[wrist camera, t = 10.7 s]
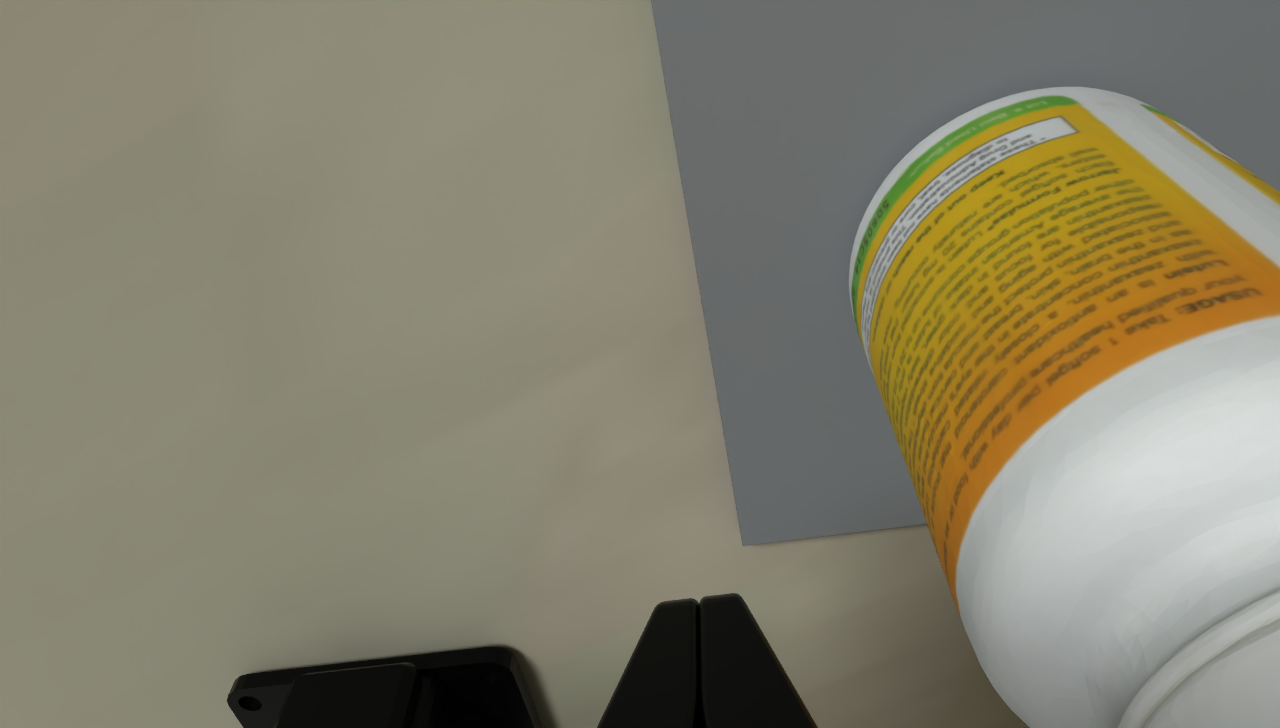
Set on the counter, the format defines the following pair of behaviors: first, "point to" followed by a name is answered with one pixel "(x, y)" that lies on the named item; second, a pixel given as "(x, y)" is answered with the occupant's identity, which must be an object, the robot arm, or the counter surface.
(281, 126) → the counter surface
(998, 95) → the mat
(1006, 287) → the supplement bottle
